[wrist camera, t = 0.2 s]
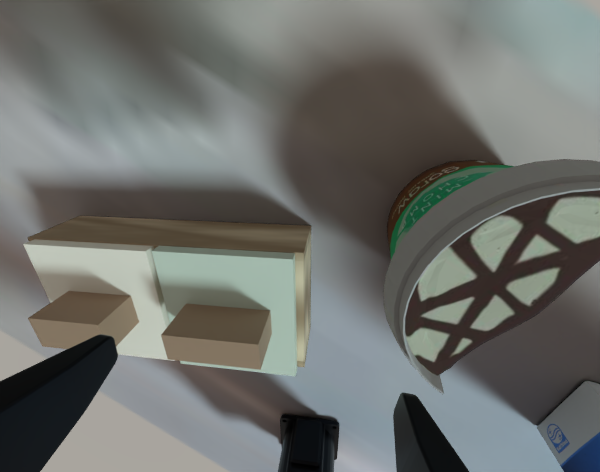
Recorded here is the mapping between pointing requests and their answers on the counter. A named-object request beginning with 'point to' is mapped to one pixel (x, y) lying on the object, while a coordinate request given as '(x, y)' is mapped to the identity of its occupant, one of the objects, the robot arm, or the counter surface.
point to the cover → (229, 308)
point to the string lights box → (576, 430)
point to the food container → (485, 252)
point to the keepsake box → (204, 246)
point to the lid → (99, 296)
